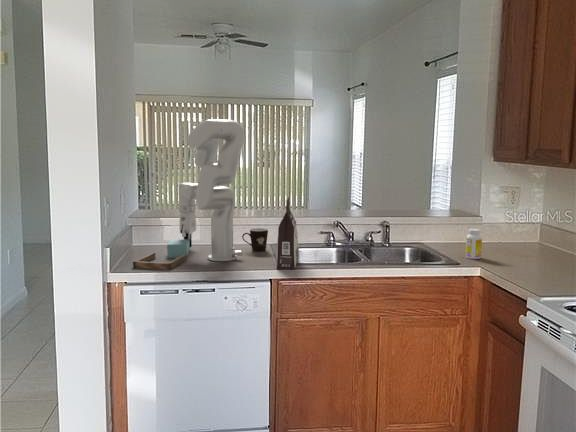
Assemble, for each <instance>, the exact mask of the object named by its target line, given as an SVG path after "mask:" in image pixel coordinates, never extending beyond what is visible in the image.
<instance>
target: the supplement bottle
mask: <svg viewBox="0 0 576 432" xmlns="http://www.w3.org/2000/svg"><path fill="white" fill-rule="evenodd" d="M468 232H469V233H468V234H467V235H466V239H465V258H467V259H469V260H470V259H471V260H480V259H481V258H482V245H483V237H482V236H481V235H480V234H481V230H480V229H477V228H469V229H468Z"/></svg>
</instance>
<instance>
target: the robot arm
mask: <svg viewBox="0 0 576 432" xmlns="http://www.w3.org/2000/svg"><path fill="white" fill-rule="evenodd" d="M221 141H226V142H225V143H224V144H223V145H222V146H221V148H220V150H219V153H218V149H219V146H220V142H221ZM244 141H245V131H244V128H243V126H242V124H241V123H239V122H238V121H236V120H231V119H217V118H214V119H213V118H211V119H205V120H203V121H201V123H199V124H198V125H197V126H195V127H194V128H193V129H192V130H191V131H190V132H189V134H188V137H187V145H188V147H189V149H191V150H193V151H195V150H196V153H195V157H194V164H195V166H197V167H198V168H199V169H200V170H199V173H198V178H197V179H198V180H197V183H196V182H195V183H194V182H180V183H179V184H178V189H177V190H178V213H179V233H180V234H181V236H182V237H183V239H189V243H190V248H192V245H193V244H192V243H193V242H192V238H193V233H195V232H196V231H197V221H196V220H197V219H196V217H197V216H196V205H197V207H198V208H199V209H200V210H202V211H212V210H213V212H212V214H211V218H210V219H211V220H210V231H211V233H210V235H211V237H210V239H211V240H210V241H211V243H210V245H211V254H209V255H208V256H207V259H208V260H210V261H214V262H230V261H235V260H236V259H237V258H238V256H239V257H241V256H243V251H242V250H236V247H234V209H235V203H236V194H235V191H234V189H232V188H231V187H229V186H227V185H232V184H233V183H234V182H235V180H236V176H237V170H238V164H239V162H240V161H239V160H240V154H241V152H242V148H243V145H244ZM217 154H218V159H217V161H216V162H215V160H216V156H217Z"/></svg>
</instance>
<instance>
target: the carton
mask: <svg viewBox="0 0 576 432" xmlns="http://www.w3.org/2000/svg"><path fill="white" fill-rule="evenodd" d="M166 248H167V249H166V253H167V258H178V257H180V256H182V255H184V254H187V257H188V256H189V254H190V248H191V247H190V243H189V239H184V238H183V239H170V240H169V242H168V243H167V244H166Z"/></svg>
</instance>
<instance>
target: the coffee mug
mask: <svg viewBox="0 0 576 432" xmlns="http://www.w3.org/2000/svg"><path fill="white" fill-rule="evenodd" d="M268 234H269V229H267V228H264V227H262V228H261V227H260V228H259V227H258V228H257V227H256V228H251V229H249V232H244V233H243V234H242V236H241V238H242V240H243V241H244V242H245V243H246V244H248V245H250V246H251V250H252V252H254V253H255V252H256V253H264V252H266V250H267V243H268ZM245 235H248V236H249V237H250V242H248V241H247V240H245V238H244V236H245Z"/></svg>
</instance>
